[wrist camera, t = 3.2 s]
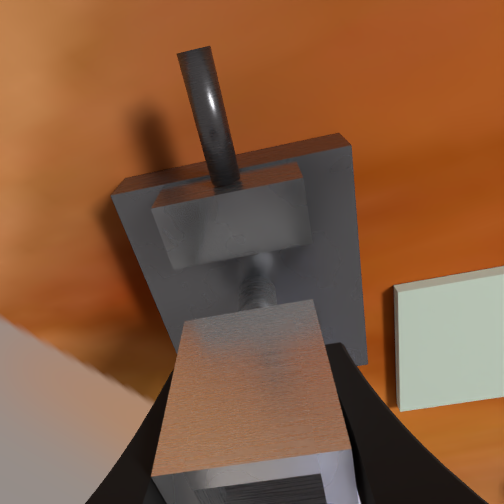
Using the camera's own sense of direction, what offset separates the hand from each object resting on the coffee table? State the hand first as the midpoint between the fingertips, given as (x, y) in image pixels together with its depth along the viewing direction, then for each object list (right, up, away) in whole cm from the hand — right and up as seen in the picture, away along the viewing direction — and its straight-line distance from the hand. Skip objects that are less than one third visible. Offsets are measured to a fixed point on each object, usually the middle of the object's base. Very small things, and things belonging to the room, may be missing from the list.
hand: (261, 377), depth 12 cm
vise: (0, +5, +5) cm, 7 cm away
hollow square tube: (0, 0, +1) cm, 1 cm away
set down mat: (+12, -1, +8) cm, 15 cm away
